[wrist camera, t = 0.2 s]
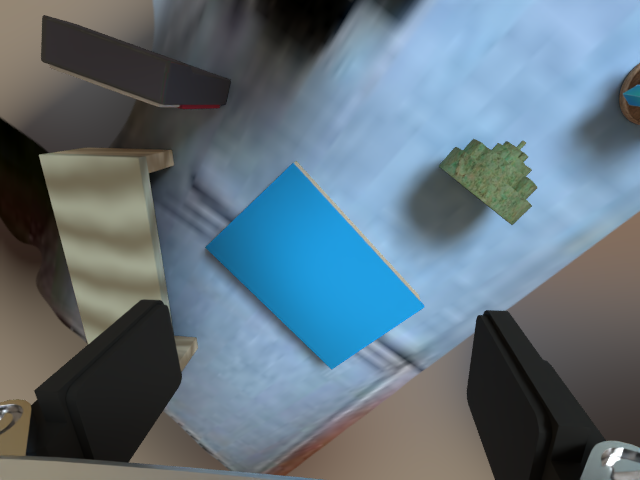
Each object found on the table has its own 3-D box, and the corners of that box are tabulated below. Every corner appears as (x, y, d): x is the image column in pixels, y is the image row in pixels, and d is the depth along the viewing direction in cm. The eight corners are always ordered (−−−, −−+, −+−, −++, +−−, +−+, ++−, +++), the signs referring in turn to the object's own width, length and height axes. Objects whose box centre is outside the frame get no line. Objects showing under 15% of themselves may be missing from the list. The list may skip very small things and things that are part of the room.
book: (291, 161, 42) (426, 307, 46) (297, 157, 46) (422, 291, 50) (201, 250, 47) (329, 373, 52) (213, 239, 51) (332, 354, 56)
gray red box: (140, 81, 44) (37, 70, 30) (145, 43, 43) (39, 13, 29) (225, 111, 44) (161, 114, 30) (233, 75, 43) (169, 60, 29)
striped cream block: (86, 147, 48) (38, 154, 41) (171, 149, 47) (138, 157, 40) (127, 342, 59) (95, 374, 52) (197, 348, 58) (174, 381, 51)
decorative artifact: (431, 160, 43) (449, 175, 34) (474, 110, 41) (506, 112, 32) (493, 209, 45) (526, 237, 35) (538, 164, 42) (587, 180, 33)
